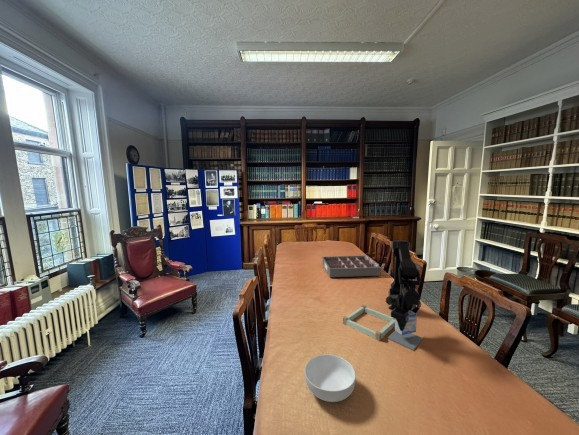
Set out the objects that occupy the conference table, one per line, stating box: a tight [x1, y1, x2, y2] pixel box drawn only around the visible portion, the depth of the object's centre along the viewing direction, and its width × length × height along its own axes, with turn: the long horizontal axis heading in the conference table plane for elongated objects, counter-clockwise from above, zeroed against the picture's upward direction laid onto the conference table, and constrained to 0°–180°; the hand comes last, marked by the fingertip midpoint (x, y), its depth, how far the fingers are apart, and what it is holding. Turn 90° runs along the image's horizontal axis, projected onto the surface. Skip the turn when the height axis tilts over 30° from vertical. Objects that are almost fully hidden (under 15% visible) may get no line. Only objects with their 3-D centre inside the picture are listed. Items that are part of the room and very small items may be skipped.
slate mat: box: [387, 329, 424, 351], centre depth 107 cm, size 11×11×1 cm
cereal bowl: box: [304, 353, 357, 403], centre depth 80 cm, size 17×17×7 cm
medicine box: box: [394, 311, 418, 335], centre depth 106 cm, size 8×4×9 cm, turn 106°
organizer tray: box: [321, 253, 382, 278], centre depth 194 cm, size 32×40×10 cm
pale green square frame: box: [342, 304, 395, 342], centre depth 119 cm, size 19×19×3 cm
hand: (405, 326), depth 106 cm, fingers closed on medicine box, 9 cm apart
